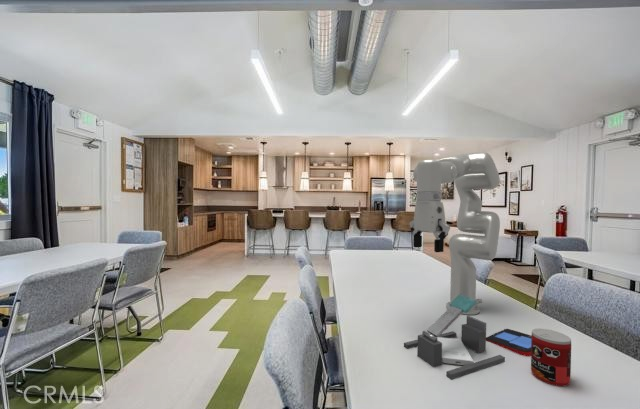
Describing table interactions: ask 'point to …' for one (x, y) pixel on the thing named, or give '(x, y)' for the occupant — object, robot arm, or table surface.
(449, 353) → the external hard drive
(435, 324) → the rectangular panel
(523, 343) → the game console
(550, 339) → the canned food
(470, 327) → the socket frame
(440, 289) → the table surface
